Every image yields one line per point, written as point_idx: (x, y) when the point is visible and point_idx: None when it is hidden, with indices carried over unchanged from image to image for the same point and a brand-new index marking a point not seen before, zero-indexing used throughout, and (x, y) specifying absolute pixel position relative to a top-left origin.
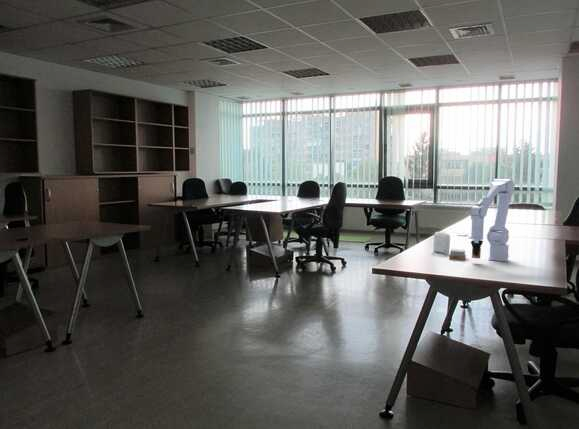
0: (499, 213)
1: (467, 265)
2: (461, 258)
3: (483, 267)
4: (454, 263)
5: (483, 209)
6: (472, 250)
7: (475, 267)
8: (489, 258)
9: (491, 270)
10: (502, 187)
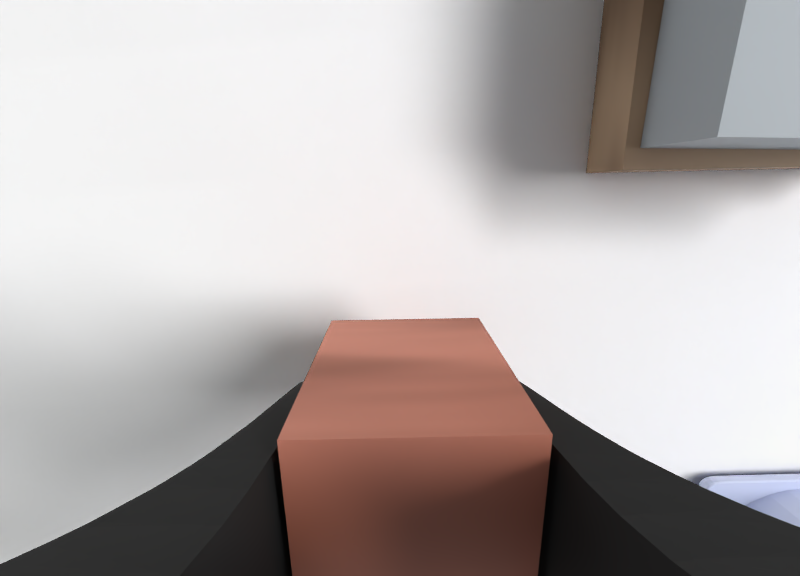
0: None
1: (154, 245)
2: (606, 111)
3: (145, 442)
4: (201, 20)
5: None
6: (296, 406)
7: (73, 355)
8: (769, 490)
9: (12, 523)
10: None
